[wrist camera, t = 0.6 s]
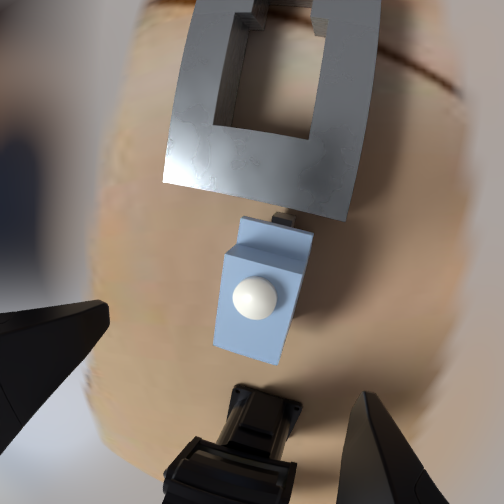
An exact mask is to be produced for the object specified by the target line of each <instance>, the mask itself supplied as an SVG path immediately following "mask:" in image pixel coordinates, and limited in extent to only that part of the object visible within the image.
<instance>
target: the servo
mask: <svg viewBox="0 0 504 504" xmlns="http://www.w3.org/2000/svg"><path fill="white" fill-rule="evenodd" d="M295 217H296V216H293V215H289V214H285V213H281V212H276V213H275V214H274V215H273V216H272V221H271V222H268V221H263V220H259V219H255V218H251V217H247V216H243V217H242V218H241V219H240V225H239V232H238V238H237V244H236V245H235V246H233V247H232V248H231V249H230V250H229V251H228V252H227V253H225V257H224V265H223V272H222V279H221V286H220V294H219V302H218V309H217V317H216V325H215V333H214V341H213V345H214V346H217V347H220V348H222V349H225V350H228V351H231V352H234V353H237V354H240V355H244V356H247V357H250V358H253V359H256V360H260V361H263V362H266V363H270V364H273V365H276V366H277V365H278V363H279V360H280V357H281V353H282V350H283V347H284V343H285V340H286V337H287V334H288V331H289V328H290V325H291V322H292V319H293V315H294V311H295V308H296V304H297V301H298V297H299V293H300V290H301V286H302V282H303V278H304V275H305V271H306V267H307V263H308V259H309V255H310V251H311V247H312V239H313V235H314V233H312V232H308V231H304V230H300V229H296V228H293V227H294V222H295Z"/></svg>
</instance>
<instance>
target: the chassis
mask: <svg viewBox="0 0 504 504" xmlns="http://www.w3.org/2000/svg"><path fill="white" fill-rule="evenodd" d="M269 5H284V6H297V7H307V8H312V10H311V16H310V17H311V21H312V25H313V29H314V33H315V36H320V37H326V40H325V46H324V53H323V59H322V65H321V71H320V78H319V83H318V89H317V95H316V101H315V107H314V112H313V118H312V124H311V129H310V134H309V140H305V139H300V138H295V137H290V136H285V135H279V134H273V133H267V132H261V131H255V130H248V129H241V128H233V127H231V125H232V119H233V113H234V108H235V102H236V97H237V91H238V86H239V80H240V75H241V70H242V65H243V60H244V55H245V50H246V45H247V40H248V35H249V30H262V31H264V28H265V23H266V18H267V13H268V8H269ZM380 11H381V0H197V1H196V5H195V8H194V12H193V16H192V19H191V23H190V27H189V31H188V35H187V40H186V44H185V48H184V53H183V57H182V62H181V67H180V72H179V77H178V82H177V87H176V93H175V98H174V104H173V110H172V116H171V123H170V129H169V136H168V143H167V151H166V159H165V168H164V177H163V182H166V183H171V184H177V185H182V186H188V187H193V188H198V189H203V190H208V191H213V192H218V193H223V194H228V195H233V196H237V197H242V198H247V199H251V200H256V201H260V202H265V203H269V204H273V205H278V206H282V207H286V208H291V209H295V210H299V211H303V212H307V213H311V214H315V215H319V216H323V217H327V218H331V219H335V220H339V221H343V222H345V221H346V217H347V213H348V209H349V205H350V201H351V197H352V193H353V188H354V184H355V179H356V175H357V170H358V165H359V161H360V156H361V151H362V146H363V140H364V135H365V129H366V124H367V118H368V112H369V106H370V100H371V93H372V86H373V79H374V72H375V64H376V55H377V46H378V36H379V25H380Z"/></svg>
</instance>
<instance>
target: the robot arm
mask: <svg viewBox="0 0 504 504" xmlns="http://www.w3.org/2000/svg"><path fill="white" fill-rule="evenodd" d="M109 325H110V317H109V306H108V304H107V303H105V302H103V301H101V300H92V301H85V302H79V303H72V304H65V305H58V306H52V307H45V308H37V309H30V310H22V311H17V312H7V313H0V455H1V454H2V453H3V451H4V450H5V449H6V447H7V446H8V445H9V444H10V443H11V441H12V440H13V439H14V438H15V437H16V435H17V434H18V433H19V432H20V431H21V430H22V428H23V427H24V426H25V425H26V423H27V422H28V421H29V420H30V419H31V418H32V416H33V415H34V414H35V413H36V412H37V411H38V409H39V408H40V407H41V406H42V405H43V404H44V403H45V401H46V400H47V399H48V398H49V397H50V396H51V395H52V394H53V392H54V391H55V390H56V389H57V388H58V387H59V386H60V385H61V384H62V382H63V381H64V380H65V379H66V378H67V377H68V376H69V375H70V374H71V372H72V371H73V370H74V369H75V368H76V367H77V366H78V365H79V364H80V363H81V362H82V361H83V360H84V359H85V357H86V356H87V355H88V354H89V353H90V351H91V350H92V349H93V347H94V346H95V345H96V343H97V342H98V341H99V339H100V338H101V337H102V335H103V334H104V333H105V332H106V330H107V329H108V327H109ZM239 390H240V391H239ZM302 408H303V405H302V404H301V403H299V402H296V401H292V400H288V399H284V398H281V397H277V396H274V395H270V394H267V393H263V392H260V391H257V390H254V389H250V388H247V387H244V386H241V385H235V386H234V388H233V390H232V395H231V400H230V405H229V410H228V415H227V420H226V424H225V426H224V428H223V430H222V432H221V434H220V436H219V438H218V440H217V442H216V444H215V443H212V442H209V441H206V440H203V439H202V438H200V437H197V436H195V437H194V439H193V440H192V441H191V442H189V443H188V444H187V446H186V447H185V448H184V449H183V450H182V452H181V453H180V454H179V455H178V456H177V457H176V458H175V460H174V461H173V462H172V463H171V464H170V465H169V467H168V468H167V469H166V470H165V471H164V473H163V475H164V478H165V480H164V484H163V492H164V494H165V497H164V500H163V502H162V504H289V501H290V497H291V493H292V488H293V483H294V478H295V473H296V468H297V463H295V462H291V463H290V462H285V461H280V460H281V457H282V453H283V450H284V446H285V442H286V441H287V439H288V437H289V435H290V433H291V432H292V430H293V428H294V426H295V423H296V421H297V419H298V417H299V415H300V413H301V411H302ZM336 504H449V503H448V501H447V500H446V499H445V498H444V496H443V495H442V493H441V492H440V491H439V489H438V488H437V487H436V485H435V484H434V482H433V481H432V479H431V478H430V476H429V475H428V473H427V471H426V470H425V469H424V467H423V465H422V463H421V462H420V460H419V459H418V457H417V456H416V454H415V453H414V451H413V449H412V448H411V446H410V445H409V443H408V442H407V440H406V439H405V437H404V435H403V434H402V432H401V431H400V429H399V428H398V426H397V425H396V423H395V422H394V420H393V419H392V417H391V416H390V414H389V413H388V411H387V410H386V408H385V407H384V405H383V404H382V402H381V401H380V399H379V398H378V396H377V395H376V393H374V392H369V391H363V392H362V393H361V394H360V396H359V398H358V399H357V401H356V403H355V404H354V406H353V408H352V410H351V413H350V418H349V423H348V428H347V433H346V438H345V443H344V448H343V453H342V460H341V470H340V478H339V486H338V494H337V501H336Z"/></svg>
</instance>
